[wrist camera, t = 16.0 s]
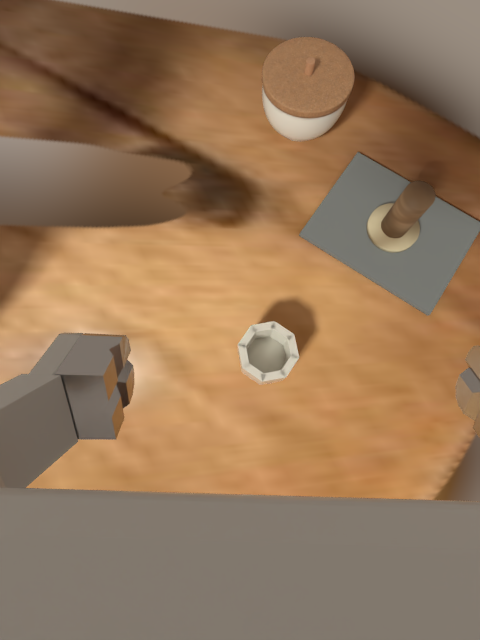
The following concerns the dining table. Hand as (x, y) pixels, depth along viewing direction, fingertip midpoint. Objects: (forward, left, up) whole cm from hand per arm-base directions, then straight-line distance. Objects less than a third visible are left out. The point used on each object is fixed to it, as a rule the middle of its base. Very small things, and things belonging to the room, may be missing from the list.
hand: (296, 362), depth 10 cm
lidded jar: (-16, +34, -36) cm, 52 cm away
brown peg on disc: (+2, +27, -35) cm, 44 cm away
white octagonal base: (-2, +5, -35) cm, 36 cm away
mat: (+2, +27, -35) cm, 45 cm away
